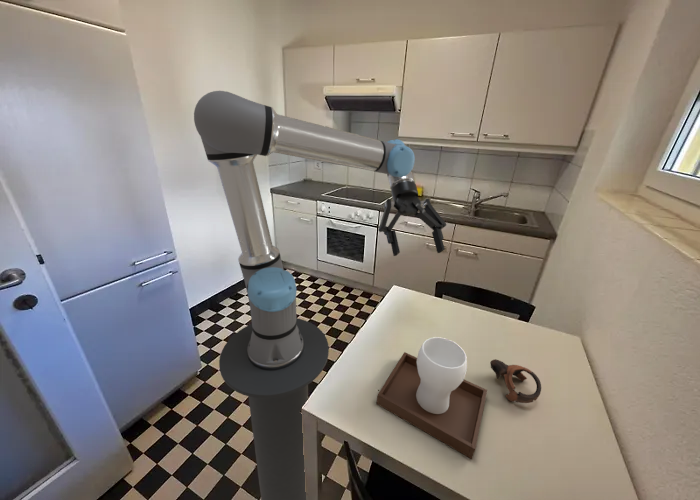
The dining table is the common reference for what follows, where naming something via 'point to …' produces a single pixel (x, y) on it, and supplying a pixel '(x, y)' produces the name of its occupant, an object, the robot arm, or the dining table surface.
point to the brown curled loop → (507, 372)
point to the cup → (439, 373)
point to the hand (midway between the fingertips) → (419, 252)
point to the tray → (448, 427)
